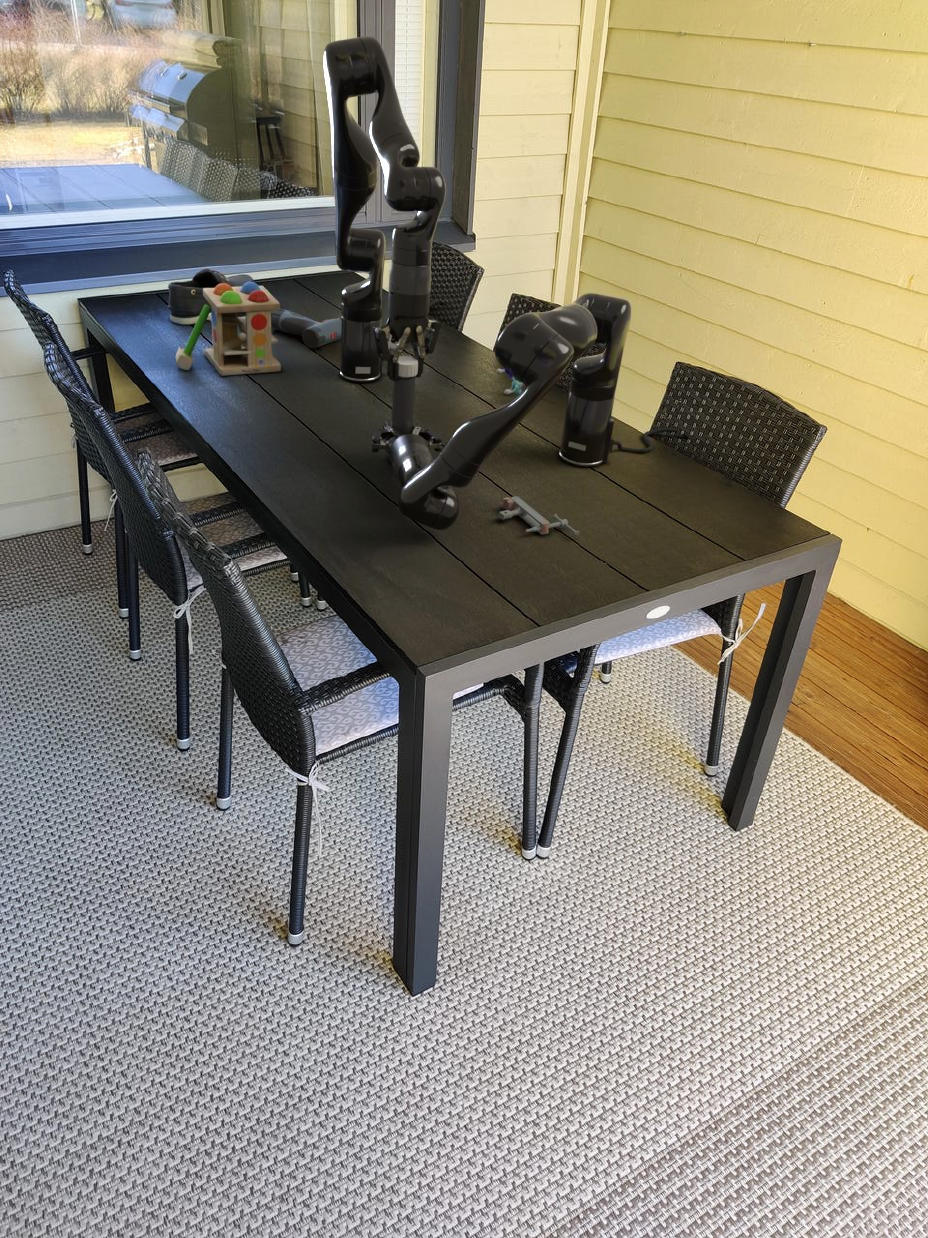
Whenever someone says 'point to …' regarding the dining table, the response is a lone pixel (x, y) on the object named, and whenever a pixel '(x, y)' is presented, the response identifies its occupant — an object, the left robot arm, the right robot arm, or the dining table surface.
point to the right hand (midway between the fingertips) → (399, 424)
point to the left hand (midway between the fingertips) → (404, 377)
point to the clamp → (530, 516)
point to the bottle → (403, 405)
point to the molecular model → (515, 384)
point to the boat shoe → (197, 294)
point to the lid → (407, 366)
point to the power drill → (307, 327)
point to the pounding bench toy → (229, 347)
